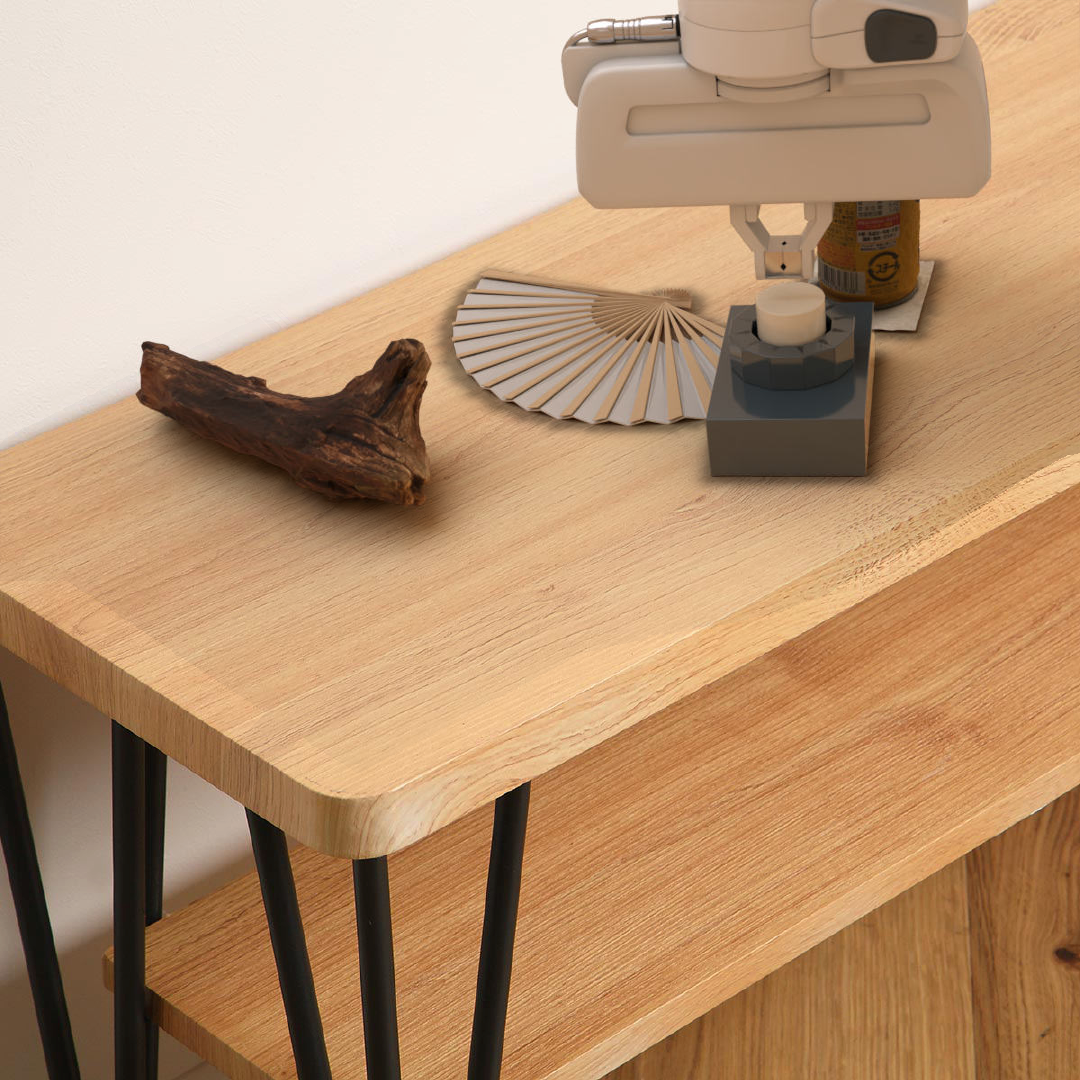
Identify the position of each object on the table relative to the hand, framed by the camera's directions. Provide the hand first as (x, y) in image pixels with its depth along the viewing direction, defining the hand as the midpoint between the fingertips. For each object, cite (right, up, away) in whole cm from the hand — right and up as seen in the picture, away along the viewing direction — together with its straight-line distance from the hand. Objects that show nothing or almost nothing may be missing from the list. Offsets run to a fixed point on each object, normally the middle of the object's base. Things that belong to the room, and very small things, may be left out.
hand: (785, 274), depth 84 cm
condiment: (+7, +1, +14) cm, 16 cm away
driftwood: (-26, -9, +8) cm, 29 cm away
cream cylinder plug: (+1, -3, +2) cm, 3 cm away
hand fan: (-9, -3, +13) cm, 16 cm away
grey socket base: (+1, -7, +5) cm, 9 cm away
